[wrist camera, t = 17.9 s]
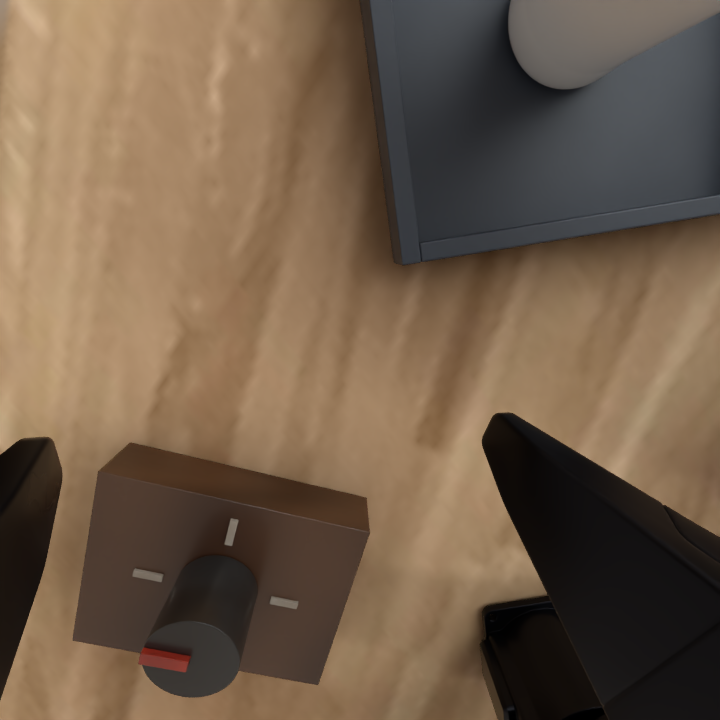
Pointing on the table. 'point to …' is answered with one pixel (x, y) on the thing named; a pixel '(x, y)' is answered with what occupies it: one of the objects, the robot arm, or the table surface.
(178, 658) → the dial
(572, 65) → the drinking glass
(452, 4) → the tray
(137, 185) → the table surface
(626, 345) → the table surface
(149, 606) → the control box
